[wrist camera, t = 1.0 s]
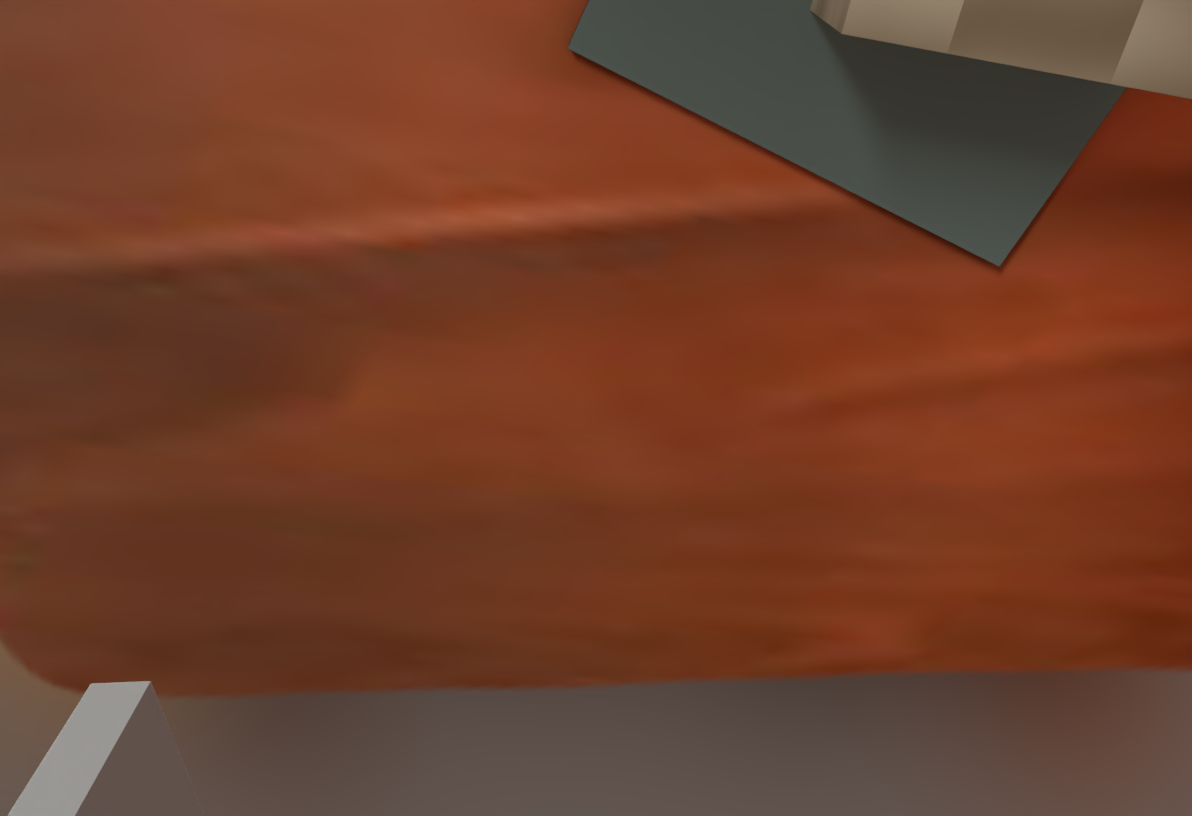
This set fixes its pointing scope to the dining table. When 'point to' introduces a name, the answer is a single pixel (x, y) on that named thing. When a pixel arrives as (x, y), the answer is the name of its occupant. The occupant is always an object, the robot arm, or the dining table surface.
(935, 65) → the felt mat
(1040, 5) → the wooden square socket block
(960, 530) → the dining table surface
